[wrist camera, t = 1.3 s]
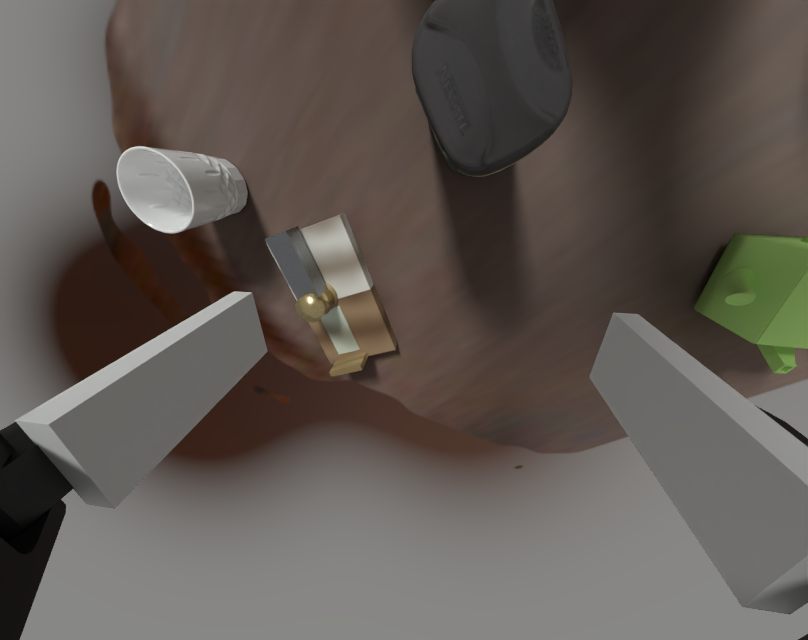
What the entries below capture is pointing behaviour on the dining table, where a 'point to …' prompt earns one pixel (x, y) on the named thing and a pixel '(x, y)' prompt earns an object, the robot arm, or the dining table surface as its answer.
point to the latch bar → (301, 274)
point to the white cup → (179, 188)
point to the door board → (346, 298)
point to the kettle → (762, 295)
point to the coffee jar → (491, 79)
